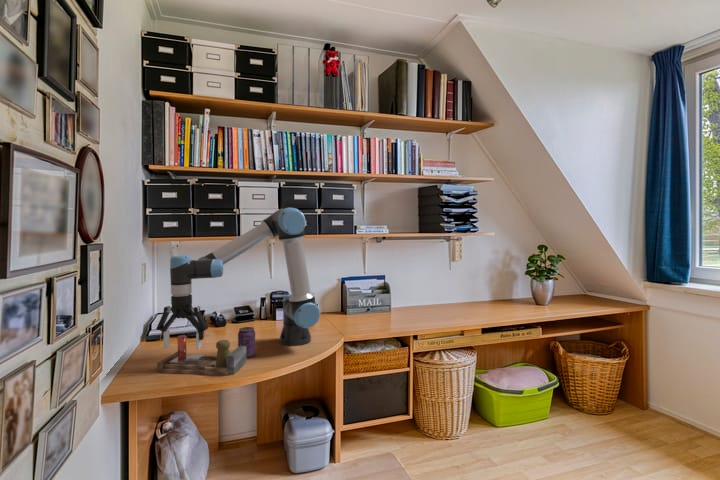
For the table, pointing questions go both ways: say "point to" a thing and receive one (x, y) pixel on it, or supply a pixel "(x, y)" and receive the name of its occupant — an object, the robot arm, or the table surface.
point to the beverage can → (247, 340)
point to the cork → (222, 353)
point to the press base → (206, 364)
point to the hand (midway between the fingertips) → (183, 347)
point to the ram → (183, 356)
